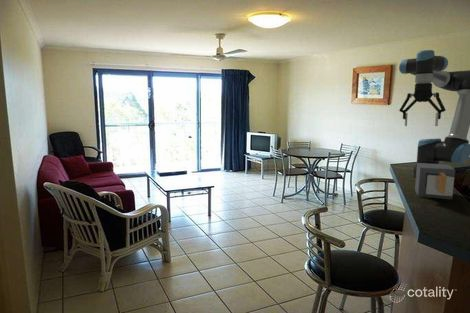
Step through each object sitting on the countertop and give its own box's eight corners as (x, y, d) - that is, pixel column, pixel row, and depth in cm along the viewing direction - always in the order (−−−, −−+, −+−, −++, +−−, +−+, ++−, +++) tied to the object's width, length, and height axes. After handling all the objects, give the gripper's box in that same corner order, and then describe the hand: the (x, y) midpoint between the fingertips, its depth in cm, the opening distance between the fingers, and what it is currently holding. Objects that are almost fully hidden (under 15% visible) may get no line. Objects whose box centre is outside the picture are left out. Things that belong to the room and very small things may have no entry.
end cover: (422, 187, 162) (424, 166, 161) (446, 189, 158) (448, 168, 157) (428, 197, 145) (430, 174, 143) (455, 200, 141) (458, 176, 139)
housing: (414, 189, 174) (417, 162, 171) (446, 192, 168) (449, 164, 166) (418, 196, 161) (420, 167, 159) (452, 199, 155) (455, 169, 153)
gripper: (396, 83, 168) (394, 126, 171) (454, 81, 159) (451, 126, 162) (395, 84, 175) (393, 125, 178) (451, 82, 166) (447, 125, 169)
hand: (420, 125), depth 170 cm, fingers open, 13 cm apart
